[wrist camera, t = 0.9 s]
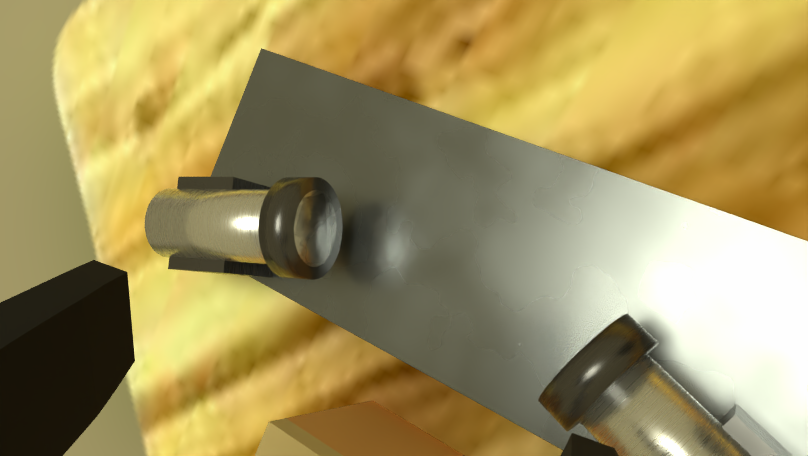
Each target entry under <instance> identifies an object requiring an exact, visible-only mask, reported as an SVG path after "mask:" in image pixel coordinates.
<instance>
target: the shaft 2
mask: <svg viewBox="0 0 808 456" xmlns="http://www.w3.org/2000/svg"><path fill="white" fill-rule="evenodd" d="M658 344H659V342H658V341H657V340H656V339H655V338H654V337H652V336H651V335H650V334H649V333H648V332H647V331H646V330H645V329H644V328H643V327H642V326H641V325H640V324H639V323H637V322H636V321H635V320H634V319H633V318H632V317H631V316H630V315H629V314H624V315H622V316H621V317H619V318H618V319H616V320H615V321H613V322H612V323H611V324H610V325H608V326H607V327H606V328H605V329H603V330H602V331H601V332H600V333H599V334H598V335H596V336H595V337H594V338H593V339H592V340H591V341H590V342H589V343H588V344H587V345H585V346H584V347H583V348H582V349H581V350H580V351H579V352H578V353H577V354H576V355H575V356H574V357H573V358H572V359H571V360H570V361H569V362H568V363H567V364H566V365H565V366H564V367H563V368H562V369H561V370H560V372H559V373H558V374H557V375H556V376H555V377H554V378H553V379H552V381H551V382H550V383H549V384H548V385H547V387H546V388H545V389H544V391H543V392H542V393H541V395H540V397H539V399H538V401H539V402H540V404H541V405H542V406H543V407H544V408H545V409H546V410H547V411H548V412H549V413H550V414H551V415H552V416H553V417H554V419H555V420H556V421H557V422H558V423H559V424H560V425H561V426H562V427H563V428H564V429H565V430H566V431H567V432H568V431H570V430H571V429H572V428H574V427H575V426H576V425H578V424H579V423H581V424H582V425H583V426H584V427H585V428H586V429H587V430H588V431H589V432H590V433H591V434H592V435H593V436H594V438H595V439H596V440H597V441H598V442H599V443H602V444H605V445H607V446H610V447H613V448H615V450H616V452H617V454H618V455H619V456H793V455H792V454H791V453H790V452H789V451H788V450H787V449H786V448H785V447H783V446H782V445H781V444H780V443H779V442H778V441H777V440H776V439H775V438H774V437H773V436H772V435H770V434H769V433H768V432H767V431H766V430H765V429H764V428H763V427H762V426H761V425H760V424H759V423H758V422H756V421H755V420H754V419H753V418H752V417H751V416H750V415H749V414H748V413H747V412H746V411H745V410H743V409H742V408H741V407H740V406H739V405H738V404H735V405H734V406H733V407H732V408H731V409H730V410H729V411H728V412H727V413H726V414H725V415H724V416H723V417H722V418H720V419H719V420H717V419H715V418H714V417H713V416H712V415H711V414H710V413H709V412H708V411H707V410H706V409H705V408H704V407H703V406H702V405H701V404H700V403H699V402H698V401H697V400H695V399H694V398H693V397H692V396H691V395H690V394H689V393H688V392H687V391H686V390H685V389H684V388H683V387H682V386H681V385H680V384H679V383H678V382H677V381H675V380H674V379H673V378H672V377H671V376H670V375H669V374H668V373H667V372H666V371H665V370H664V369H663V368H662V367H661V366H660V365H659V364H658V363H656V362H655V361H654V360H653V359H652V358H651V357H650V356H649V355H650V354H651V353H652V352H653V351H654V349H655V348H656V347H657V346H658Z"/></svg>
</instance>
